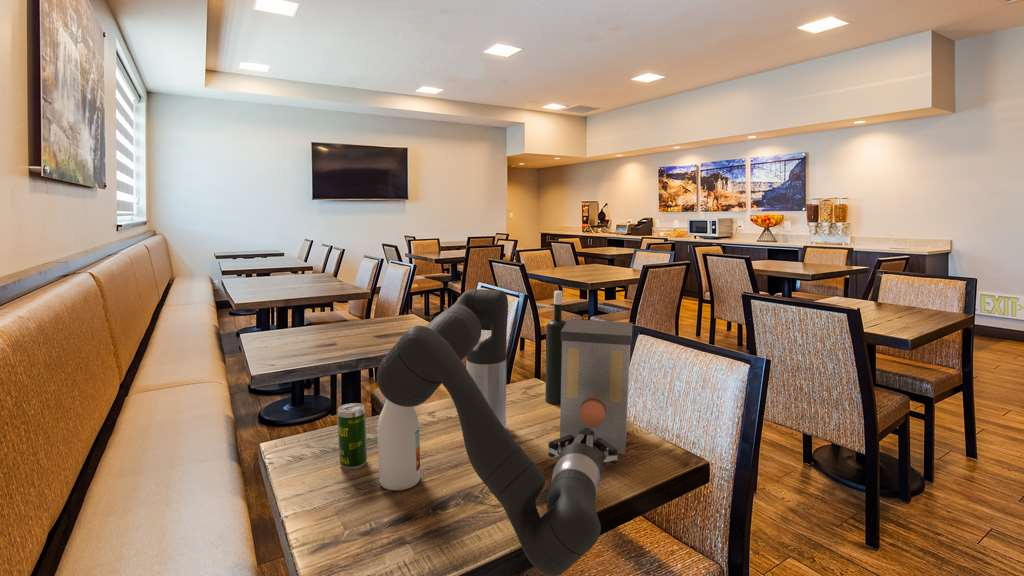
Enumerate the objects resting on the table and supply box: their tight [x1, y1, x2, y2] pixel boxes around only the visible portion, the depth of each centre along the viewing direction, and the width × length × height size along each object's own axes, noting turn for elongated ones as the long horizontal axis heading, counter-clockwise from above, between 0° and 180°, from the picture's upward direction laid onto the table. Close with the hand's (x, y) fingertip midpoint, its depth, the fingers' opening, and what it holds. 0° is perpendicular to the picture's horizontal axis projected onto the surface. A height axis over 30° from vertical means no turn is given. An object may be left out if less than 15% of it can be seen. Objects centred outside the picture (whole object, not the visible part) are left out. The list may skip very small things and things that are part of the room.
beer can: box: [337, 402, 368, 471], centre depth 109 cm, size 5×5×12 cm
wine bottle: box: [544, 290, 567, 405], centre depth 143 cm, size 6×6×30 cm
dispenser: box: [559, 318, 633, 455], centre depth 120 cm, size 13×15×26 cm
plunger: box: [579, 400, 605, 427], centre depth 119 cm, size 14×5×5 cm, turn 166°
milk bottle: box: [377, 398, 421, 492], centre depth 102 cm, size 8×8×20 cm
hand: (587, 432), depth 104 cm, fingers closed
